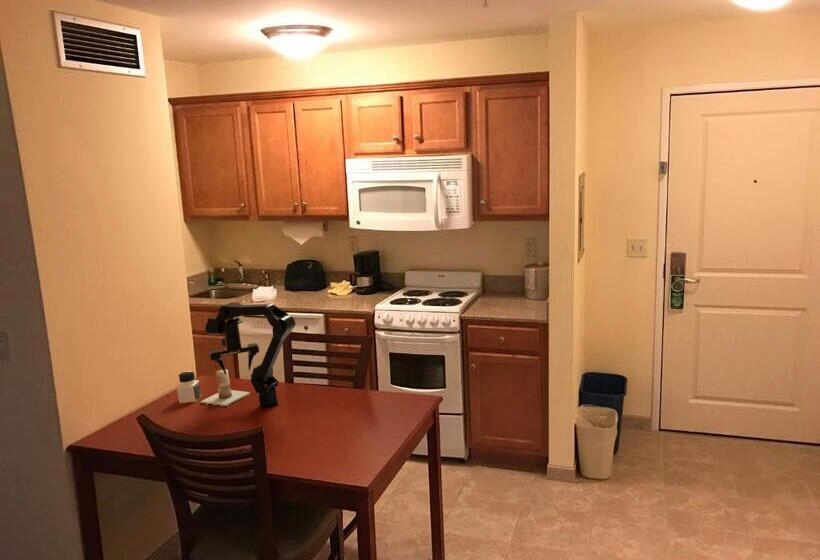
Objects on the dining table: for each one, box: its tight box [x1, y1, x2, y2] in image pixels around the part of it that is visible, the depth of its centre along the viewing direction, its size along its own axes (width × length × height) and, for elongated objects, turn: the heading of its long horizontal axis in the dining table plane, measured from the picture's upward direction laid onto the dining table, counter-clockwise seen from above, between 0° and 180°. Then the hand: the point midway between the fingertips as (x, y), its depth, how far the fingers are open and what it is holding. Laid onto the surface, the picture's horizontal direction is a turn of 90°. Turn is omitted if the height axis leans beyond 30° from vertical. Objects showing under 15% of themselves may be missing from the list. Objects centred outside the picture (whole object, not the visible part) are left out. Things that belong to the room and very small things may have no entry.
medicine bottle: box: [176, 370, 202, 404], centre depth 278 cm, size 7×7×12 cm
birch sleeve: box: [214, 368, 232, 399], centre depth 274 cm, size 5×5×11 cm
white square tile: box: [200, 389, 251, 407], centre depth 275 cm, size 14×14×1 cm
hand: (237, 372), depth 266 cm, fingers open, 9 cm apart
